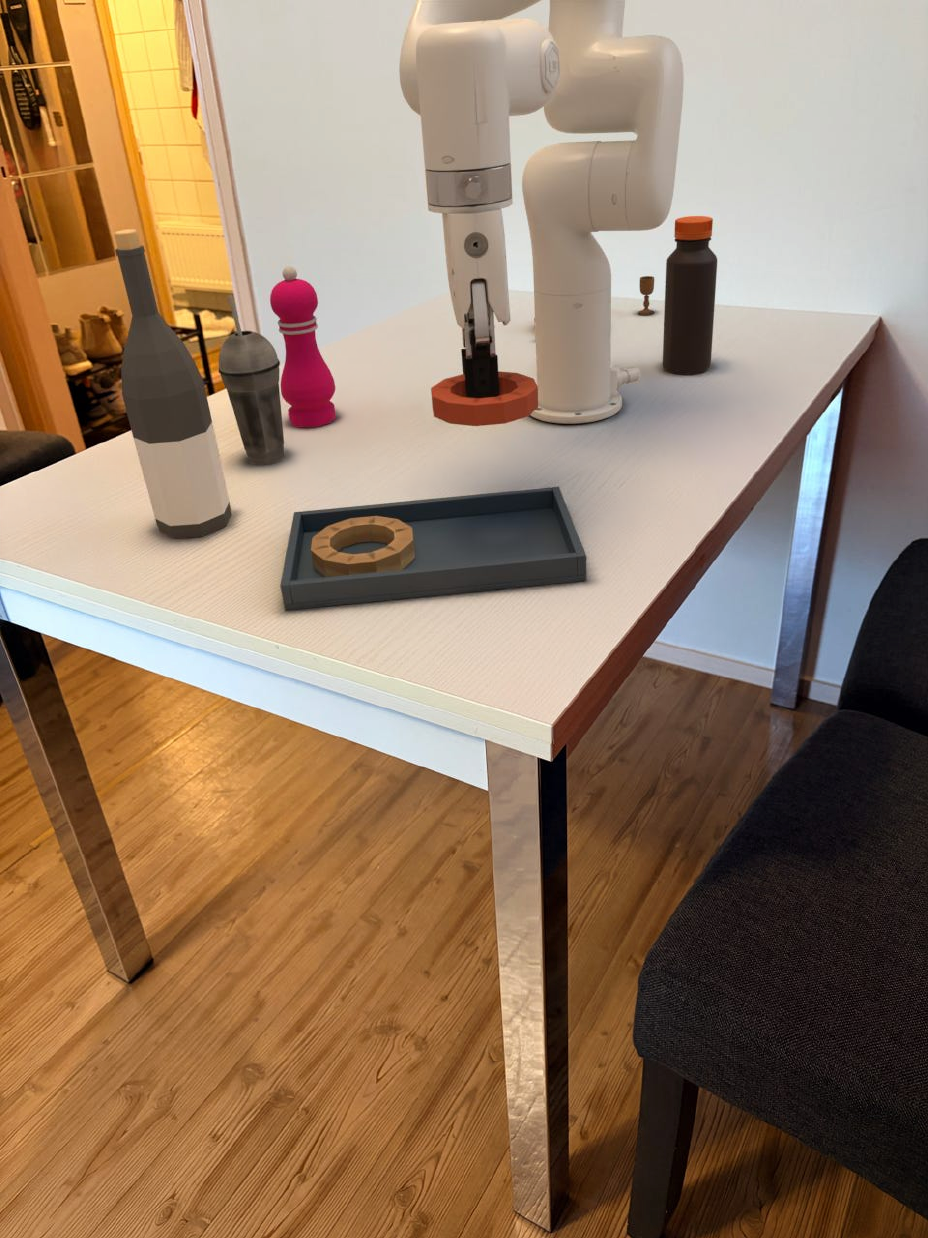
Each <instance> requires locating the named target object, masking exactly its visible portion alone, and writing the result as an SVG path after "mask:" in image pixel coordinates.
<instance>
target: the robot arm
mask: <svg viewBox="0 0 928 1238" xmlns="http://www.w3.org/2000/svg"><path fill="white" fill-rule="evenodd" d="M541 1H542V0H416V1H415V3H414V6H413V9H412V11H411V15H410V18H409V20H408V23H407V27H406V30H405V33H404V35H403V36H404V37H403V41H402V45H401V48H400V56H399V67H398V68H399V83H400V88H401V91H402V95H403V98H404V100H405V102H406V104H407V106H409V108H410V109H411V110H412V111H413V112H414V113H415V114H417V115H418V116H419V117H420V124H421V136H422V146H423V147H422V150H423V161H424V162H423V163H424V169H425V170H424V172H425V173H424V174H425V183H426V184H425V186H426V197H427V198H426V199H427V210H428V211H429V212H432V213H436V214H441V217H442V218H441V219H442V228H443V241H444V253H445V263H446V272H447V280H448V287H449V295H450V299H451V305H452V309H453V312H454V316H455V320H456V324H457V326H458V327H460V328H461V333H462V347H463V348H461V350H460V351H461V365H462V374H465V389H466V397H467V398H488V397H497V396H499V376H498V371H499V359H498V358H499V357H498V354H496V336H495V326H496V325H495V318H496V320H497V322H498V323H502V325H503V326H507V325H508V324H509V323H510V322H511V319H512V318H511V309H510V307H511V306H510V295H509V293H510V292H509V278H508V263H507V248H506V235H505V225H504V217H503V210H502V209H505V208H508V207H511V205H513V203H514V202H513V179H512V161H511V160H512V159H511V158H512V157H511V134H510V130H511V129H510V117H519V116H527V115H529V114H530V115H531V114H533V113H536V112H537V111H539V110H540V109H543V112H544V117H545V119H546V121H547V124H548V125H549V126H550V127H551V128H552V129H554V130H555V131H557V132H560V133H565V134H582V135H583V134H584V135H585V134H613V133H617V134H618V133H634V134H635V135H637V136H636V139H635V140H613V141H612V140H611V141H609V140H608V141H601V140H596V141H595V140H593V141H591V140H590V141H572V142H571V141H570V142H569V141H567V142H560V143H559V142H558V143H553V144H549V145H546V146H544V147H542V148H540V149H538V150H536V151H535V152H533V154H532V155H531V156H530V157H529V158H528V160H527V161H526V163H525V165H524V168H523V172H522V176H521V177H522V178H521V189H522V190H521V191H522V198H523V204H524V210H525V214H526V220H527V224H528V230H529V239H530V246H531V256H532V278H533V304H534V306H533V307H534V318H535V322H534V334H535V335H534V336H535V362H536V363H535V365H536V367H535V369H536V384H537V387H538V408H537V409H536V410H535V411H533V412H532V413H531V414H530V415H529V416H531V417H532V418H534V419H537V420H539V421H542V422H546V423H553V424H562V425H563V424H564V425H566V424H567V425H571V424H573V425H574V424H587V423H593V422H597V421H598V422H599V421H602V420H605V419H608V418H610V417H612V416H614V415H616V414H617V413H619V412H620V410H621V409H622V407H623V397H622V396H621V394H620V393H619V392H618V389H621V387H622V385H628V384H631V383H635V382H638V381H639V380H640V377H641V373H640V370H639V368H638V367H636V366H632V367H628V368H625V369H622V370H620V368H619V367H618V366H613V367H611V348H612V347H611V345H612V344H611V341H612V340H611V339H612V338H611V337H612V336H611V335H612V331H611V329H612V326H611V325H612V269H611V265H610V261H609V259H608V257H607V255H606V253H605V251H604V250H603V248H602V246H601V245H600V243H599V242H598V241H597V239H596V238H595V236H594V234H593V233H597V232H640V231H649V230H655V229H657V228H660V226H661V225H663V224H664V222H665V221H666V220H667V218H668V216H669V214H670V211H671V207H672V202H673V197H674V189H675V182H676V181H675V180H676V170H677V160H678V151H679V141H680V131H681V123H682V122H681V121H682V111H683V101H684V82H685V81H684V79H685V77H684V75H685V74H684V64H683V63H684V62H683V58H682V55H681V52H680V49H679V47H678V45H677V44H676V43H675V42H674V41H673V40H672V39H670V38H668V37H666V36H663V35H655V34H651V35H650V34H647V35H633V36H623V31H624V30H623V29H624V20H625V19H624V18H625V8H626V0H549V17H548V28H547V27H546V26H545V25H544V24H542V23H541V22H539V21H537V20H534V19H530V18H523V17H518V18H515V17H514V18H507V17H510V16H512V15H515V14H518V13H520V12H522V11H524V10H526V9H528V8H529V7H531V6H534V5H536V4H537V3H539V2H541ZM494 316H495V317H494Z"/></svg>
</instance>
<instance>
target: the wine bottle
mask: <svg viewBox="0 0 928 1238" xmlns="http://www.w3.org/2000/svg"><path fill="white" fill-rule="evenodd" d="M113 235H114V240H115V244H116V249H115V248H114V252H115V255H116V257H117V261H118V264H119V268H120V272H121V276H122V280H123V284H124V288H125V292H126V296H127V301H128V304H129V308H130V312H131V321H130V325H129V331H128V333H127V337H126V340H125V344H124V348H123V352H122V360H121V361H122V363H121V372H120V377H121V379H120V380H121V381H120V382H121V396H122V400H123V403H124V408H125V412H126V415H127V418H128V419H127V420H128V422H129V426H130V430H131V434H132V438H133V442H134V446H135V449H136V453H137V457H138V460H139V464H140V467H141V472H142V476H143V480H144V483H145V486H146V490H147V494H148V498H149V501H150V505H151V510H152V513H153V517H154V520H155V523H156V526H157V529H158V531H159V532H160V533H162V534H164V535H166V536H168V537H170V538H172V539H174V540H176V539H187V538H189V539H190V538H203V537H205V536H207V535H210V534H213V533H214V532H216V531H219V530H221V529H223V528H225V527H227V525H228V523H229V520H230V519H231V516H232V505H231V501H230V496H229V492H228V488H227V483H226V479H225V475H224V469H223V465H222V461H221V455H220V450H219V447H218V442H217V439H216V432H215V428H214V424H213V420H212V415H211V410H210V405H209V400H208V396H207V391H206V387H205V383H204V379H203V376H202V374H201V372H200V369H199V367H198V365H197V364H196V362H195V359H194V358H193V356H192V354H191V353H190V351H189V350H188V347H186V344H185V343H184V341H183V340H182V339H181V338H180V337H179V335H178V334H177V333H176V332H175V330H174V329H173V328H172V327H171V326H170V325H169V323H167V321H166V320H165V318H163V316H162V315H161V314H160V312H159V309H158V306H157V301H156V297H155V292H154V289H153V284H152V279H151V276H150V272H149V267H148V262H147V258H146V254H145V253H146V249H145V246H144V245H142V244H141V242H140V237H139V233H138V230H137V229H133V228H128V229H121V230H117V231H115V232H113Z"/></svg>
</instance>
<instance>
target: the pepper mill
mask: <svg viewBox="0 0 928 1238" xmlns="http://www.w3.org/2000/svg"><path fill="white" fill-rule="evenodd" d="M297 276H298V272H297V270H296V269H295V268H294V267H293V266H289V265H288V266H285V267H284V268H283V270H282V277H283V279H284V280H283V279H282V280H281V281H279V282H278V283H276V284H275V285H274V286H273V287H272V290H271V292H270V296H269V303H270V308H271V311H272V312H273V313H274V315H276V316H277V317H278V318H279V319H278V321H277V325H278V327H279V328H278V332H279V333H280V334H282V336H283V339H284V345H285V346H284V348H285V361H284V364H283V365H284V366H283V370H282V373H281V377H280V395H281V397H282V399H283V400H284V401H285V402H286V403H287V404H288V405H290V406H289V408H288V411H287V412H288V418H289V422H290V424H291V425H292V426H294V427H297V428H306V429H307V428H317V427H322V426H326V425H327V424H330V423H332V422H333V421H334V420H336V417H337V414H336V407H335V404H334V403H333V401H331V400H332V398H333V396H334V395H335V392H336V383H335V378H334V376H333V374H332V372H331V370H330V368H329V366H328V365H327V363H326V361H325V359H324V358H323V356H322V354H321V352H320V350H319V347H318V343H317V338H316V337H317V336H316V330H317V329H318V327H319V325H318V323H317V319H318V318H317V317H316V316H315V315H314V314H315V312H316V310H317V308H318V306H319V305H318V304H319V298H318V294H317V292H316V290H315V287H314V286H313V285H312V284H311V283H310V282H308V281H307V280H305V279H302V278H297Z"/></svg>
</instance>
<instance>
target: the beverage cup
mask: <svg viewBox="0 0 928 1238" xmlns="http://www.w3.org/2000/svg"><path fill="white" fill-rule="evenodd" d="M227 299H228V303H229V307H230V311H231V315H232V318H233V322H234V326H235V330H236V331H235V332H234V333H233V334H230V336H228V337H227V338H226V339H225V341H223V343H222V345H221V348H220V350H219V353H218V373H219V374H220V378H221V381H222V383H223V385H224V388H225V389H226V392H227V395H228V398H229V401H230V404H231V409H232V411H233V415H234V418H235V421H236V426H237V429H238V432H239V435H240V438H241V442H242V446H243V448H244V451H245V453H246V456H247V459H248V462H249V463H250V464H253V465H258V466H259V465H260V466H262V465H263V466H265V465H271V464H275V463H277V462H280V461H282V460H283V459H284V458H285V456H286V454H285V437H284V425H283V413H282V403H281V390H280V366H281V361H280V359H279V358H278V354H277V351H276V349H275V347H274V345H272V343H271V342H270V341H269V340H268V339H267V338H266V336H264V335H262V334H261V333H258V332H255V331H252V330H242V328H241V325H240V320H239V316H238V313H237V310H236V305H235V301H234V297H233V295H232V294H230V295H227Z"/></svg>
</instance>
